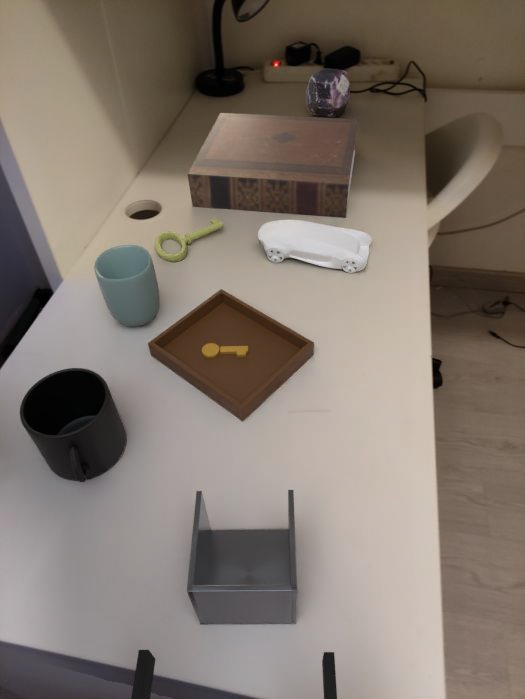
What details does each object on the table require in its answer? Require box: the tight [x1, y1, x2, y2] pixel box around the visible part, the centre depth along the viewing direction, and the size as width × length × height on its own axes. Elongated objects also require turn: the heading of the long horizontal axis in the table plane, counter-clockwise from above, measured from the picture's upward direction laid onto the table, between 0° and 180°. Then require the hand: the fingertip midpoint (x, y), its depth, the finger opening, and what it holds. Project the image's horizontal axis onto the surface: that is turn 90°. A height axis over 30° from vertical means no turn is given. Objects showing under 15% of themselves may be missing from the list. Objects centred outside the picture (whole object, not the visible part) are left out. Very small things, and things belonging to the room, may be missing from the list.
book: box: [187, 112, 359, 218], centre depth 102 cm, size 24×28×6 cm
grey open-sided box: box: [186, 489, 298, 626], centre depth 50 cm, size 9×9×9 cm
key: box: [154, 217, 224, 263], centre depth 91 cm, size 7×12×2 cm, turn 138°
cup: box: [93, 244, 160, 327], centre depth 76 cm, size 8×8×10 cm
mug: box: [19, 367, 127, 483], centre depth 60 cm, size 9×12×9 cm
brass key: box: [202, 343, 248, 358], centre depth 73 cm, size 6×2×1 cm, turn 90°
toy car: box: [257, 219, 373, 274], centre depth 86 cm, size 18×8×4 cm, turn 75°
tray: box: [147, 288, 315, 422], centre depth 72 cm, size 17×14×2 cm
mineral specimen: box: [305, 67, 351, 118], centre depth 119 cm, size 10×10×10 cm
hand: (237, 654), depth 40 cm, fingers open, 13 cm apart
